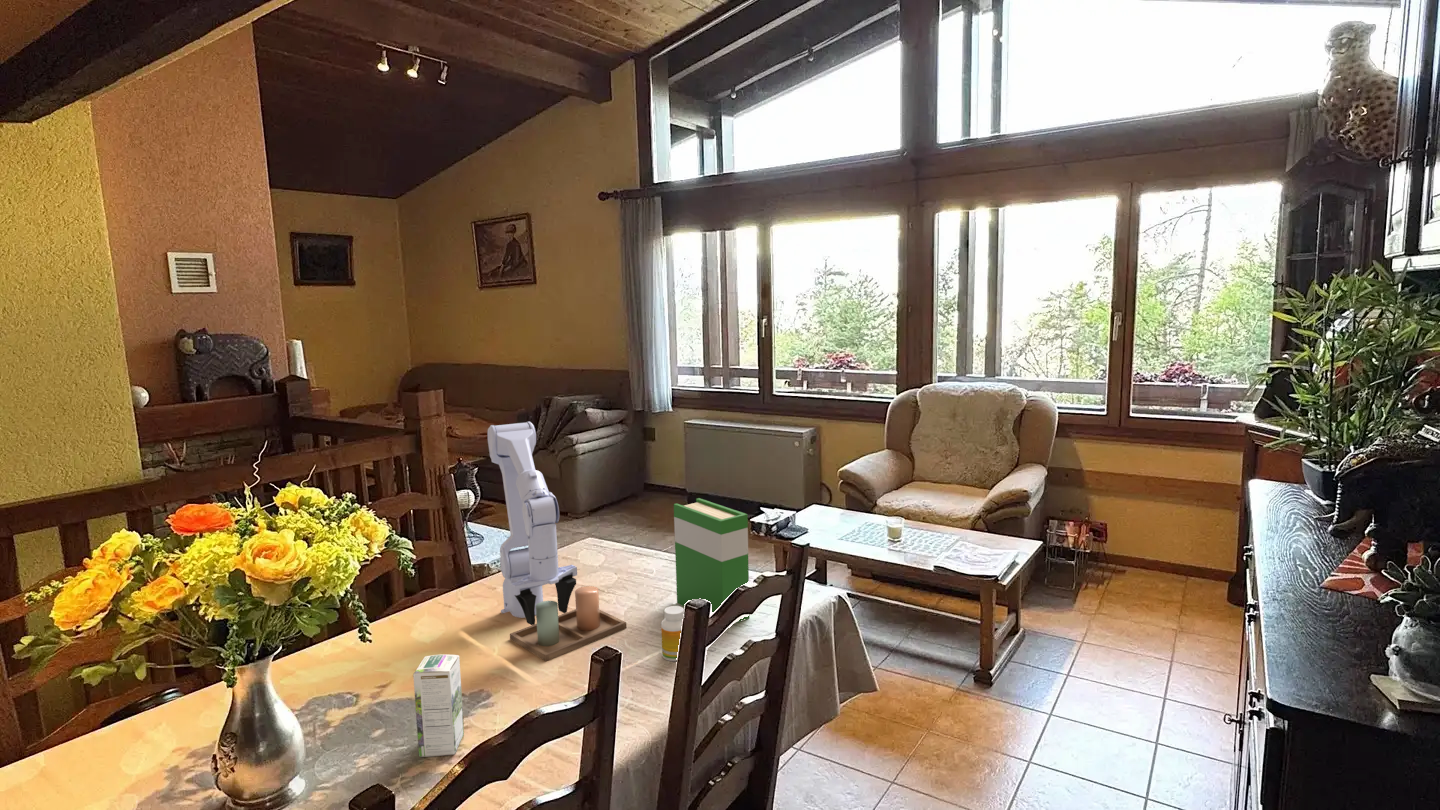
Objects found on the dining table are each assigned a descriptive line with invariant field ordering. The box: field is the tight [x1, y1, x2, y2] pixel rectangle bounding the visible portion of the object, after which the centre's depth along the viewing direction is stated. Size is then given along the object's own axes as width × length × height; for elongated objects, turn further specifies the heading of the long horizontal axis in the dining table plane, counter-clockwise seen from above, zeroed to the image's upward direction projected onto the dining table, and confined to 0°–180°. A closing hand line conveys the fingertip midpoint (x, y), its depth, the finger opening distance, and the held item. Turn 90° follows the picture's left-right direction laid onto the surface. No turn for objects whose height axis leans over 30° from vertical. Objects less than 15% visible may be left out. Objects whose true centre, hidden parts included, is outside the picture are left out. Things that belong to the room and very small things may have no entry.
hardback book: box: [673, 497, 750, 622], centre depth 168 cm, size 18×7×24 cm, turn 38°
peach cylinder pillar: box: [574, 585, 600, 631], centre depth 161 cm, size 5×5×8 cm
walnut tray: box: [509, 608, 627, 662], centre depth 158 cm, size 14×20×2 cm
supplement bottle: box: [660, 605, 685, 662], centre depth 148 cm, size 5×5×10 cm
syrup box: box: [412, 654, 465, 758], centre depth 119 cm, size 6×6×14 cm
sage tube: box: [535, 600, 559, 646], centre depth 154 cm, size 4×4×8 cm
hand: (547, 617), depth 154 cm, fingers open, 7 cm apart
